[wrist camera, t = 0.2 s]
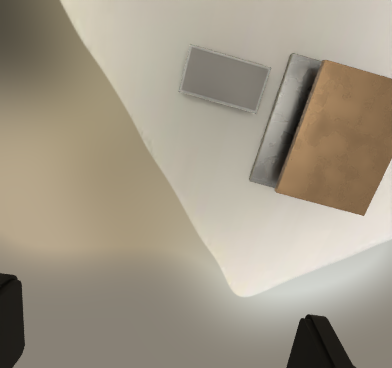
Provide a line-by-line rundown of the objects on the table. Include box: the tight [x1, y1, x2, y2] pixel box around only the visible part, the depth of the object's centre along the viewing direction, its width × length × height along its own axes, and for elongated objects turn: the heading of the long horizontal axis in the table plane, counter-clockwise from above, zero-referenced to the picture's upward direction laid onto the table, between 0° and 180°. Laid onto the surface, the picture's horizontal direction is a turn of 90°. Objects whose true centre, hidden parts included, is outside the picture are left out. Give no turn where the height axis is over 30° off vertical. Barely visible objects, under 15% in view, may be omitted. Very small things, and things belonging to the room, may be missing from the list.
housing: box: [179, 44, 271, 114], centre depth 34 cm, size 5×9×5 cm, turn 75°
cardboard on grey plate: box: [249, 53, 392, 216], centre depth 35 cm, size 16×16×5 cm
